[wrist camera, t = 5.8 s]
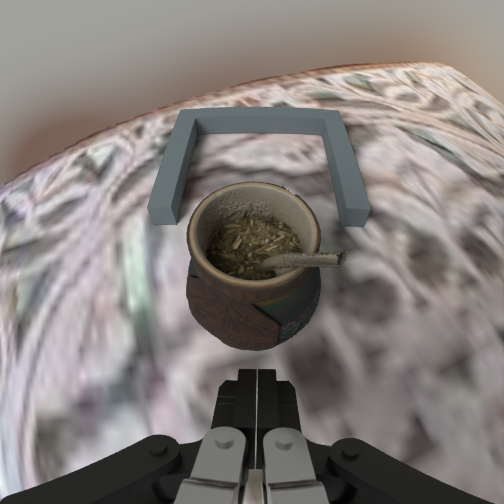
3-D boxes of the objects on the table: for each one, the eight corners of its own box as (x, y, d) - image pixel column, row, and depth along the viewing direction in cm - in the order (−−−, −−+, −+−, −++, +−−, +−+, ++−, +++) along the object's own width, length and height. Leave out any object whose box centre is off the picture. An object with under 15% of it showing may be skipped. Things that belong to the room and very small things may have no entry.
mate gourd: (239, 237, 22) (233, 115, 14) (335, 291, 20) (387, 180, 11) (173, 316, 19) (115, 213, 11) (275, 386, 17) (301, 332, 8)
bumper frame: (336, 126, 30) (338, 110, 28) (363, 226, 23) (370, 209, 21) (183, 125, 30) (180, 109, 28) (154, 224, 23) (147, 207, 21)
